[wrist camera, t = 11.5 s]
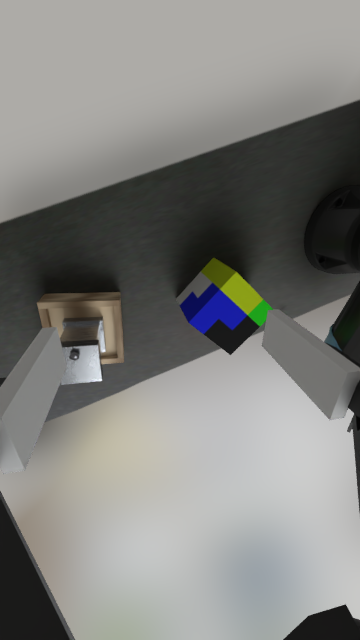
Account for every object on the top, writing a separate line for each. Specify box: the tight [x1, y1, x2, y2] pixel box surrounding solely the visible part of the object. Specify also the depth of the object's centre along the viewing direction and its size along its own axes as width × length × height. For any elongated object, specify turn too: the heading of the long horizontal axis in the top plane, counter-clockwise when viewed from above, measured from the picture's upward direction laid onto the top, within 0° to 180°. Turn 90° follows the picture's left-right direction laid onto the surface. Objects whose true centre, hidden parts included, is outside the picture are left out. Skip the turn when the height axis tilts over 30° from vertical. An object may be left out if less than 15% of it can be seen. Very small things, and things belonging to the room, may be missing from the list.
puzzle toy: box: [176, 257, 273, 355], centre depth 41 cm, size 10×10×10 cm
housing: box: [59, 317, 106, 385], centre depth 36 cm, size 6×6×10 cm
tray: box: [37, 292, 124, 364], centre depth 41 cm, size 12×12×4 cm
